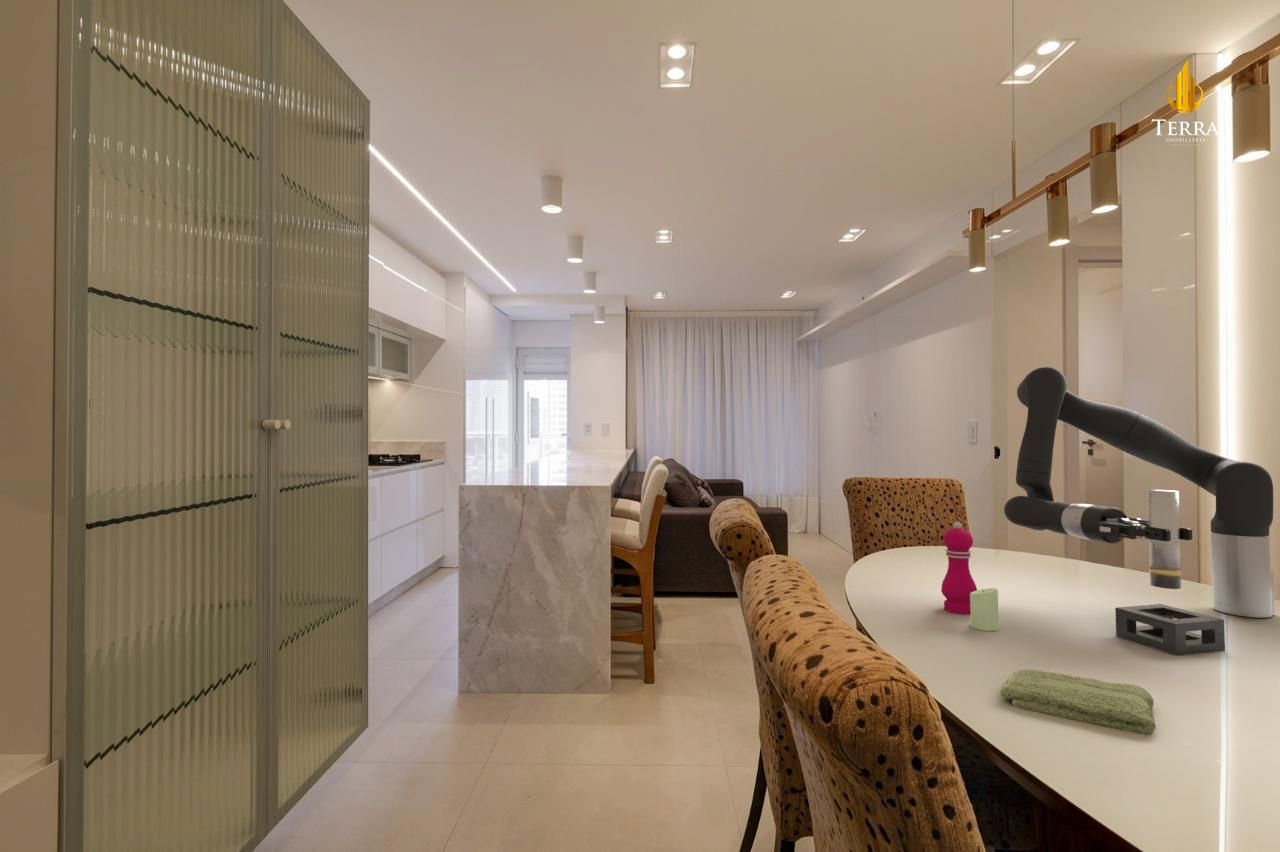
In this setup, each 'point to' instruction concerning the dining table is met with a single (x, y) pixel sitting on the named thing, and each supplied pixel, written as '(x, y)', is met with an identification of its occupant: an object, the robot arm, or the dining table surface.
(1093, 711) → the washcloth
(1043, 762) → the dining table surface
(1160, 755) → the dining table surface
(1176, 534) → the metal can
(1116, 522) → the robot arm
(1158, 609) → the collar stand
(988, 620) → the candle
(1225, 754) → the dining table surface
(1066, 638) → the dining table surface
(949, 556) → the pepper mill
